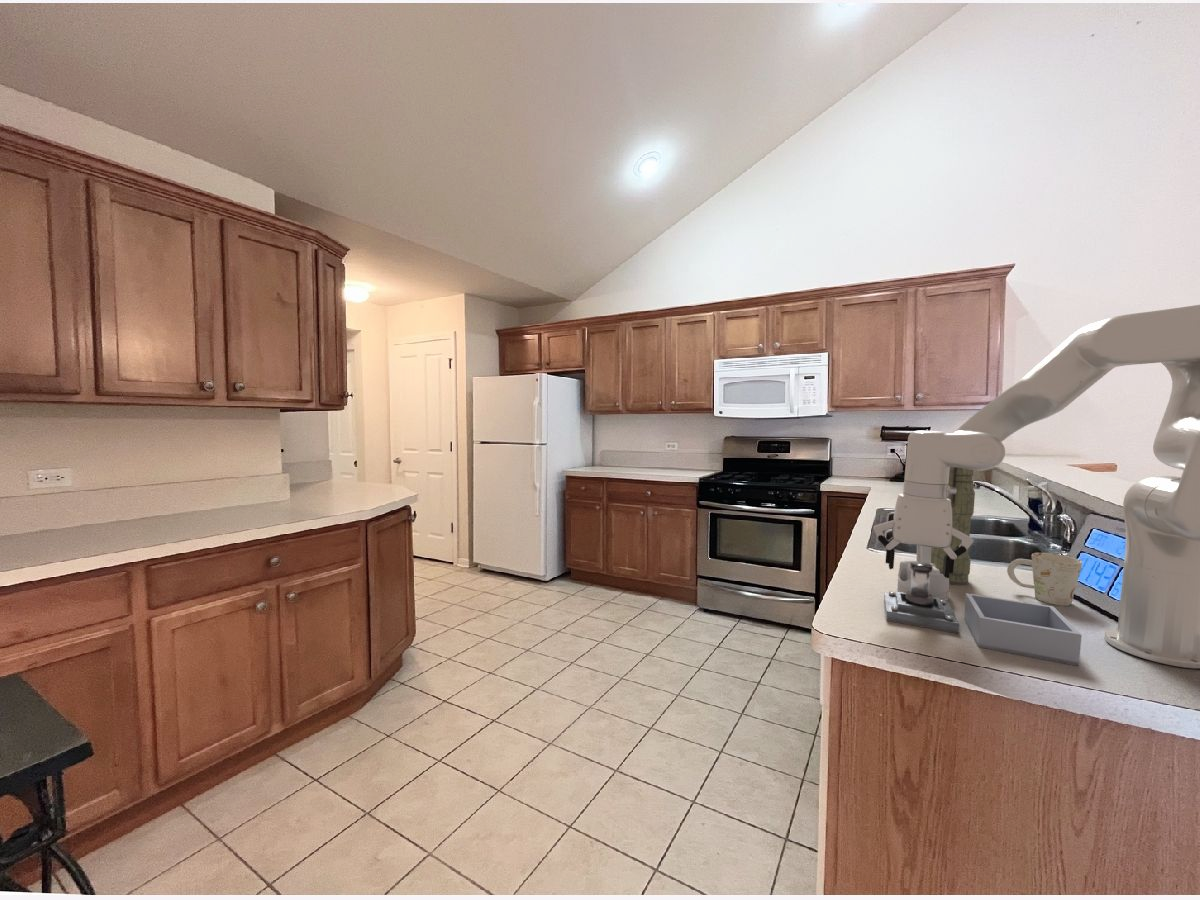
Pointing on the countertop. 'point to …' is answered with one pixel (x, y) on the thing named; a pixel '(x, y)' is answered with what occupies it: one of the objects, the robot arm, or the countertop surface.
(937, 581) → the engine component
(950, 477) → the green moai statue
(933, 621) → the mount plate
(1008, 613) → the bin
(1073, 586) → the mug
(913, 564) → the dark topped cylinder
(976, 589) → the countertop surface
